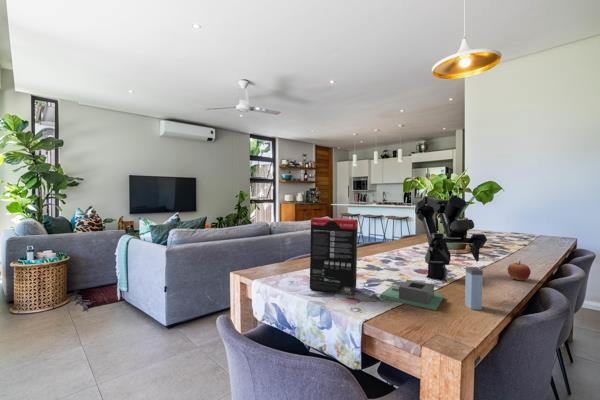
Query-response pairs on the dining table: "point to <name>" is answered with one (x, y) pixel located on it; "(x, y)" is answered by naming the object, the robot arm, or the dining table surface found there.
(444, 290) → the dining table surface
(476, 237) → the robot arm
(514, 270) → the apple
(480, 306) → the light blue tall block
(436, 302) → the header board
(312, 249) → the graphics card box
